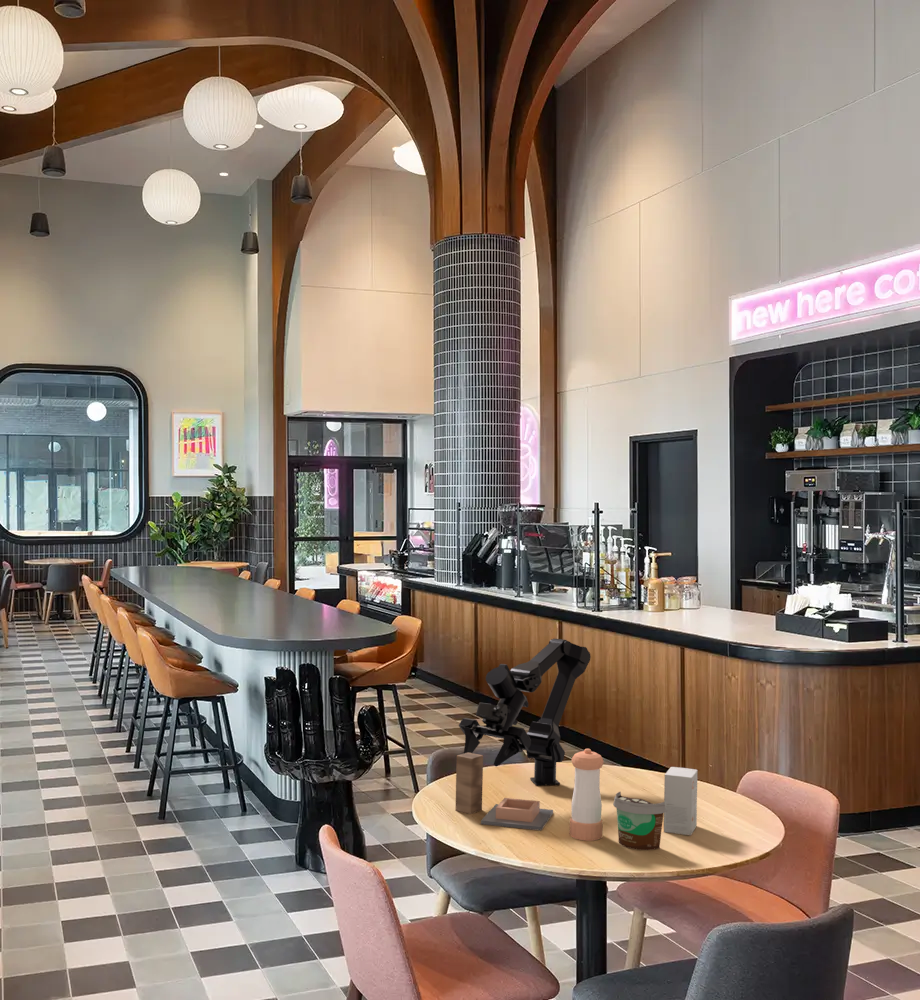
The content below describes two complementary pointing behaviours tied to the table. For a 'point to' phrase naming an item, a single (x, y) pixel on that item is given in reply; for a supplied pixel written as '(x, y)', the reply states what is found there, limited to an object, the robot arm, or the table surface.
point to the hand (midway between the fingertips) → (479, 762)
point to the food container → (639, 822)
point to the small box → (680, 800)
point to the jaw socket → (518, 814)
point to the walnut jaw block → (469, 782)
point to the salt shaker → (586, 797)
